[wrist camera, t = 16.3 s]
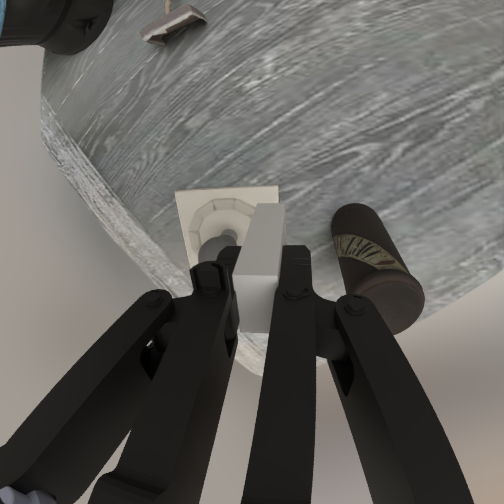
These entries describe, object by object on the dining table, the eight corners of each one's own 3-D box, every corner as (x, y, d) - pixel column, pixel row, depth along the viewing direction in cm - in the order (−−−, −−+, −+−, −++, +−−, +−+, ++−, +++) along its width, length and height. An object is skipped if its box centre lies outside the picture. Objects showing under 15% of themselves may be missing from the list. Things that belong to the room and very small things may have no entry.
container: (354, 189, 39) (395, 263, 22) (393, 225, 41) (441, 309, 24) (317, 229, 43) (327, 321, 26) (356, 261, 45) (381, 355, 28)
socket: (193, 274, 51) (190, 280, 50) (176, 190, 43) (172, 194, 42) (282, 275, 49) (281, 281, 47) (278, 184, 41) (277, 188, 39)
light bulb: (207, 243, 46) (188, 279, 38) (217, 212, 43) (197, 243, 35) (242, 256, 47) (229, 294, 38) (253, 225, 44) (242, 260, 35)
